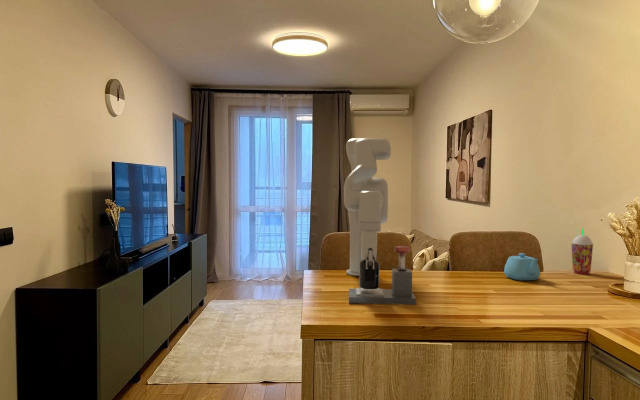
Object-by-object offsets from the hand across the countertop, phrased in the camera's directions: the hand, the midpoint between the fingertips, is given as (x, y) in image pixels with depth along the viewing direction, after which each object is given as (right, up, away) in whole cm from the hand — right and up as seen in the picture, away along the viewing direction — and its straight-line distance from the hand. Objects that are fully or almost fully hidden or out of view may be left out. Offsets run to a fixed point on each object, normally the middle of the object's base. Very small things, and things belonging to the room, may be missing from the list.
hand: (369, 278), depth 145 cm
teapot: (+69, -7, +32) cm, 76 cm away
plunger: (+11, -1, -1) cm, 11 cm away
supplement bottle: (0, -3, 0) cm, 3 cm away
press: (+4, -7, 0) cm, 8 cm away
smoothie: (+100, -6, +44) cm, 110 cm away
